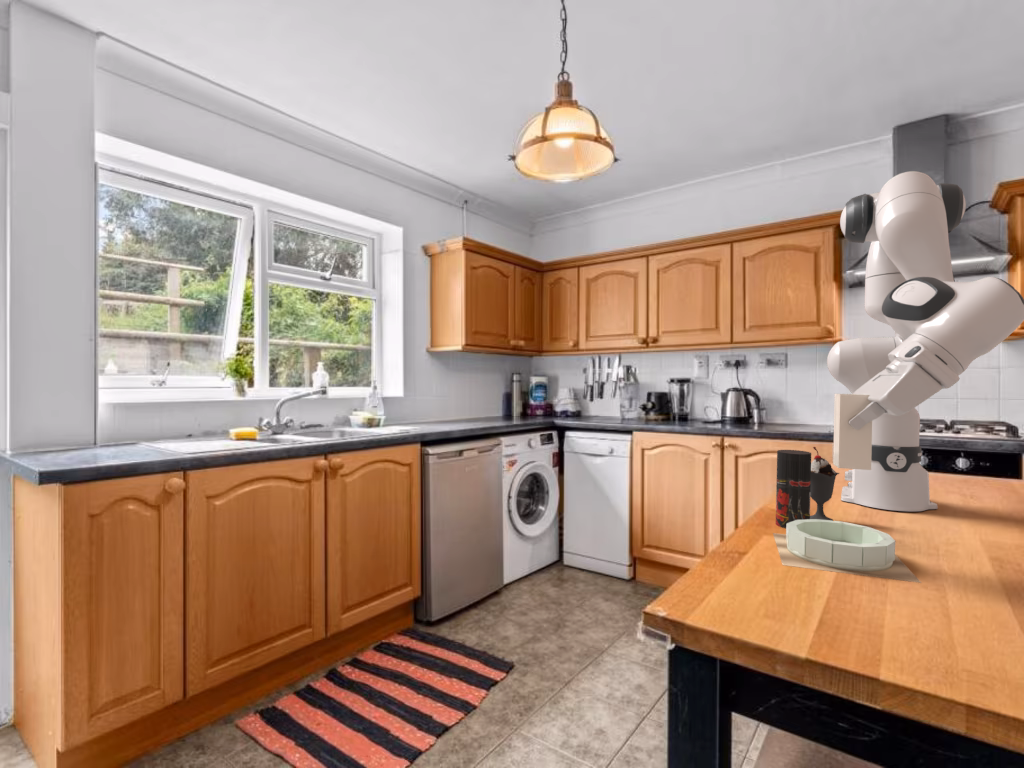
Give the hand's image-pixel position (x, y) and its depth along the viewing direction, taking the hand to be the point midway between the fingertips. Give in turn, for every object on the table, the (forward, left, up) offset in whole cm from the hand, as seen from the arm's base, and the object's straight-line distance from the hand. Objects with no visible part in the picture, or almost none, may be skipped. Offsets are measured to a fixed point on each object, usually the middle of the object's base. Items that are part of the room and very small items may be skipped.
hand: (847, 425), depth 89 cm
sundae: (-25, 0, -22) cm, 33 cm away
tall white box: (0, +1, -7) cm, 7 cm away
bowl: (0, -1, -22) cm, 22 cm away
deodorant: (-16, -6, -22) cm, 28 cm away
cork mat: (0, -1, -22) cm, 22 cm away
